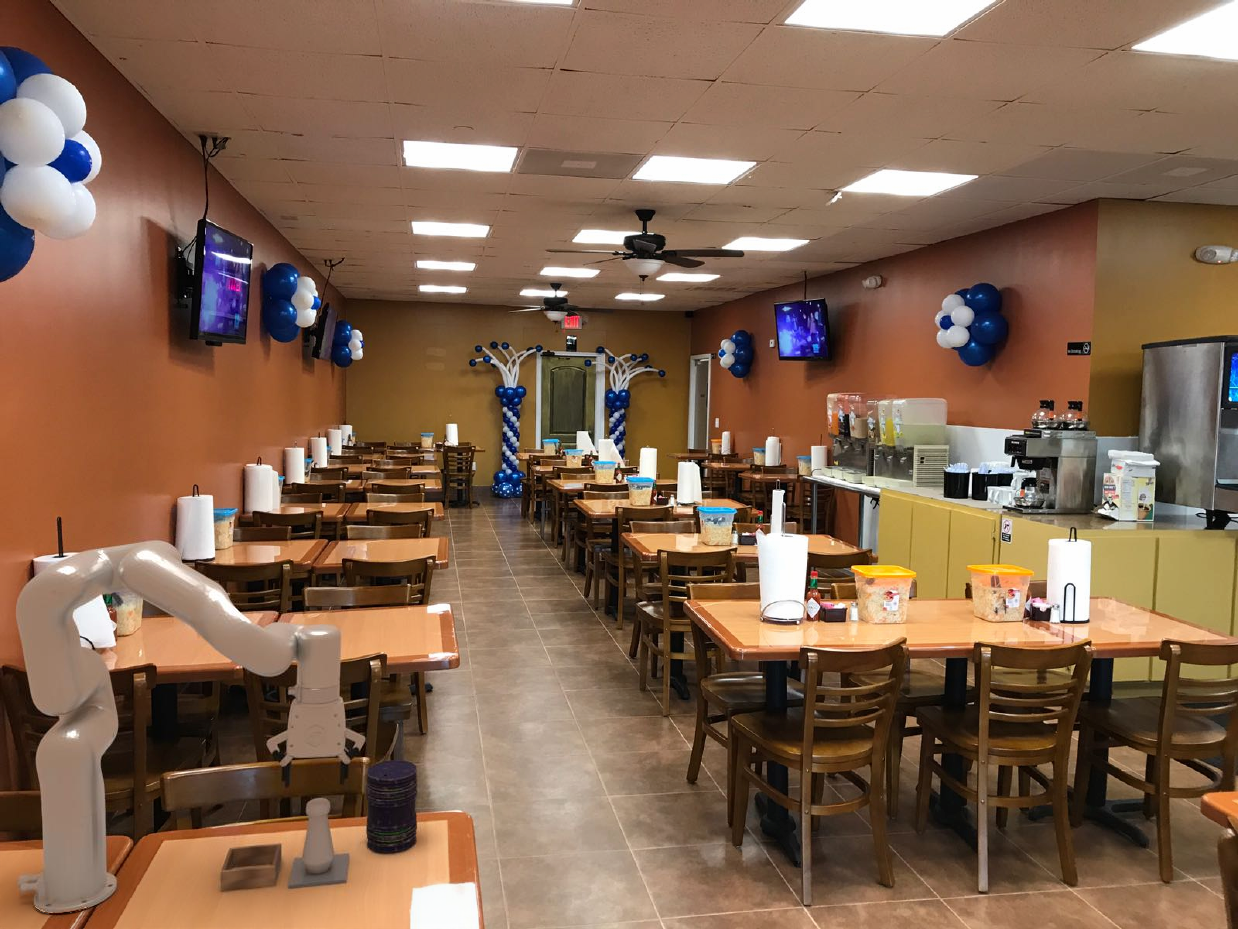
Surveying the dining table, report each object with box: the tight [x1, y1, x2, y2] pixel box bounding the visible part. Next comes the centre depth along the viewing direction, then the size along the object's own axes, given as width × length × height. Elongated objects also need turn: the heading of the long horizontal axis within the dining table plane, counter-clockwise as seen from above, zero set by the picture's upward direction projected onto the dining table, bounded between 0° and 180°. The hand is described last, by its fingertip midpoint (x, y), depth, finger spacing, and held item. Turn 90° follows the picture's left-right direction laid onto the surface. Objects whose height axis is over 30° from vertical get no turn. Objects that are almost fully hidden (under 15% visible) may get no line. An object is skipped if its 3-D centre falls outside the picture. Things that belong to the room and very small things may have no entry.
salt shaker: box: [301, 797, 335, 874], centre depth 170 cm, size 6×6×13 cm
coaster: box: [287, 852, 350, 889], centre depth 171 cm, size 10×10×1 cm
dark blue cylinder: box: [365, 759, 418, 855], centre depth 182 cm, size 10×10×15 cm
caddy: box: [219, 842, 283, 892], centre depth 169 cm, size 9×9×4 cm
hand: (315, 783), depth 169 cm, fingers open, 9 cm apart
